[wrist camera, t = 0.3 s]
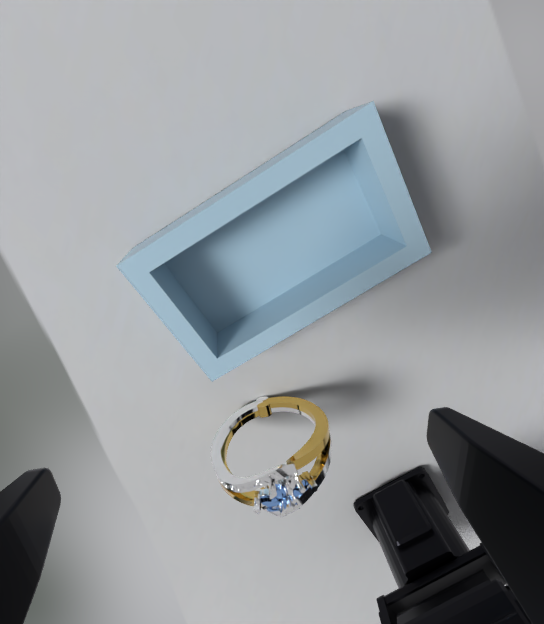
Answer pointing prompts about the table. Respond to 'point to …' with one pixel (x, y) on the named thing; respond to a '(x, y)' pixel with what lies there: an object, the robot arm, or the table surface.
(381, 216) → the box
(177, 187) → the table surface
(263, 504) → the ring
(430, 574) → the robot arm
